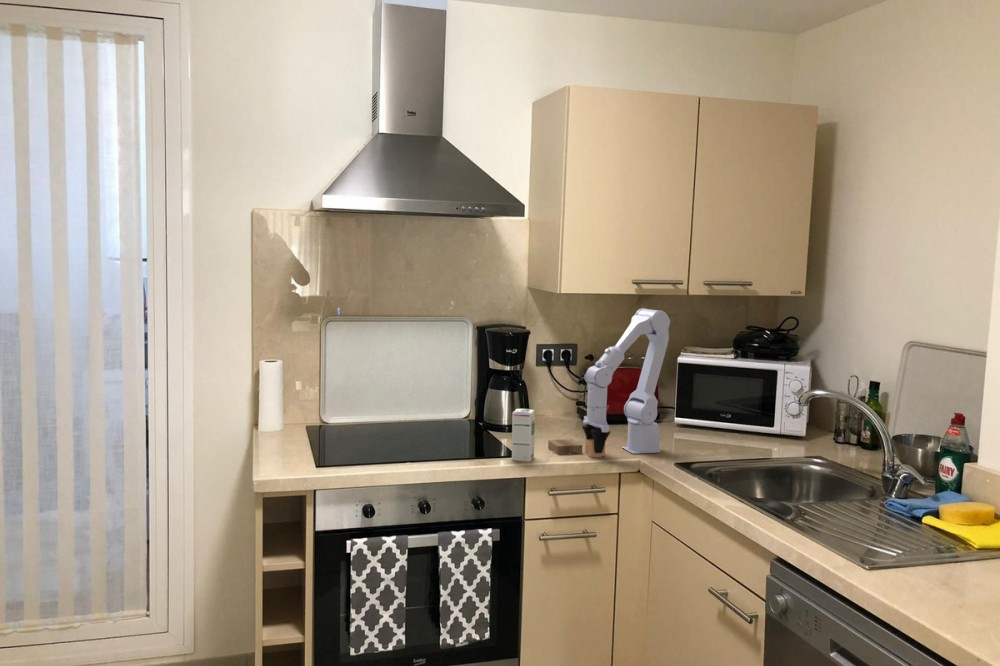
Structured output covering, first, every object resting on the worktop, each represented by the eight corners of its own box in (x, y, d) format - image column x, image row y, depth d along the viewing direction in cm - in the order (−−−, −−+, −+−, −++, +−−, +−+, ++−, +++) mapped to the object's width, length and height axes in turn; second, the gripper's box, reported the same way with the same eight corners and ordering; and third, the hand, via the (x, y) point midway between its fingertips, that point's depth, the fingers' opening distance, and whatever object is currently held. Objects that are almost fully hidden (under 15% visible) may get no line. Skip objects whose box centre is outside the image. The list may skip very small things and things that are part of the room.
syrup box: (530, 462, 241) (532, 412, 240) (510, 460, 243) (512, 411, 241) (534, 457, 247) (535, 409, 246) (514, 455, 248) (515, 407, 247)
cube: (598, 453, 254) (599, 438, 254) (604, 456, 250) (605, 442, 250) (585, 453, 253) (585, 439, 253) (590, 457, 249) (591, 442, 248)
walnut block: (572, 448, 261) (572, 439, 261) (581, 454, 254) (582, 445, 253) (548, 449, 259) (548, 440, 258) (557, 455, 251) (557, 446, 251)
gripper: (575, 402, 256) (573, 445, 257) (594, 411, 242) (592, 457, 243) (596, 401, 258) (594, 444, 259) (616, 410, 244) (614, 456, 245)
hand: (595, 450), depth 251 cm, fingers closed on cube, 4 cm apart
